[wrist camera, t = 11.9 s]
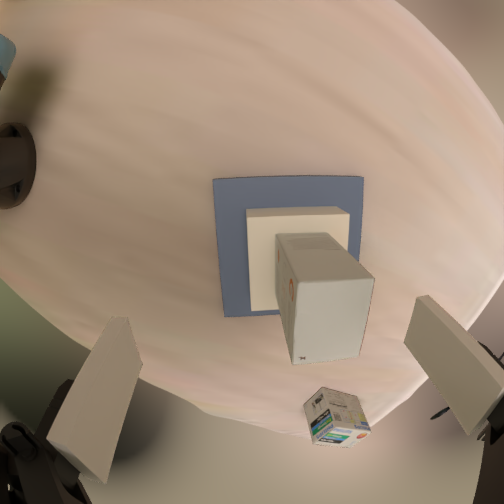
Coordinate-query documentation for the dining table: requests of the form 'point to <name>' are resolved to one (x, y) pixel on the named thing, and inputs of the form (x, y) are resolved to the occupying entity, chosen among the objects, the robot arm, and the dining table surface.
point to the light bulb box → (335, 419)
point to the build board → (267, 198)
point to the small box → (320, 297)
